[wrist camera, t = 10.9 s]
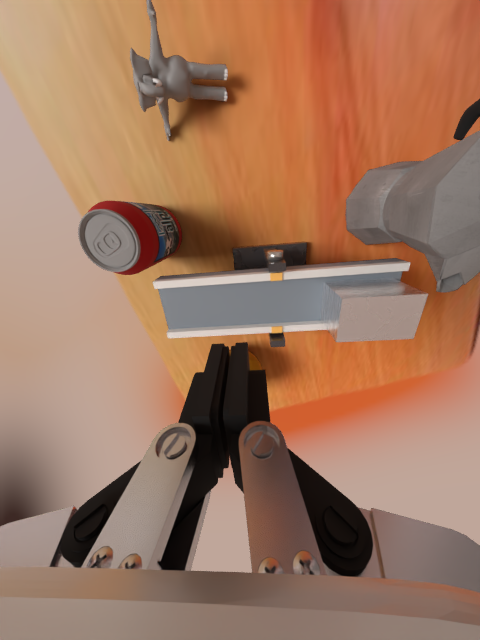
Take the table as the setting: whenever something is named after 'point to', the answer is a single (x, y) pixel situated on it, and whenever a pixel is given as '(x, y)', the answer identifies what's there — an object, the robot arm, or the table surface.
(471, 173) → the coffeepot
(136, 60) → the elephant figurine
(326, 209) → the table surface
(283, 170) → the table surface
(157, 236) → the beverage can
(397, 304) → the rider
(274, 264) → the stand
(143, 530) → the robot arm
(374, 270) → the beam
